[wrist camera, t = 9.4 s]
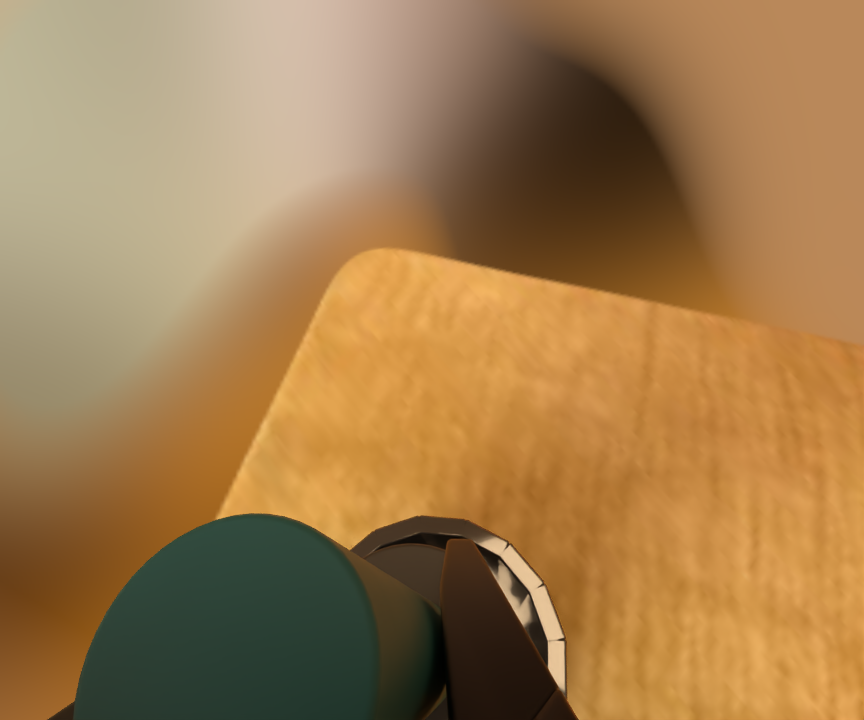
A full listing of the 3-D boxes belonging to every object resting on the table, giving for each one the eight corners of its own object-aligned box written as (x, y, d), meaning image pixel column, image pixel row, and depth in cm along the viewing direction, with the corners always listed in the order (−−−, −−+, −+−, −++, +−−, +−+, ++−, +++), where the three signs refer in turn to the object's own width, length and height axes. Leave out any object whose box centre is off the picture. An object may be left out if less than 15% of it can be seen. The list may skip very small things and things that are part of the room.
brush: (533, 713, 13) (683, 1019, 2) (378, 767, 13) (-192, 1352, 2) (480, 550, 15) (435, 325, 4) (345, 595, 15) (-41, 474, 4)
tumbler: (583, 735, 16) (616, 770, 11) (374, 808, 15) (324, 874, 11) (506, 521, 19) (508, 485, 15) (332, 579, 19) (281, 560, 14)
